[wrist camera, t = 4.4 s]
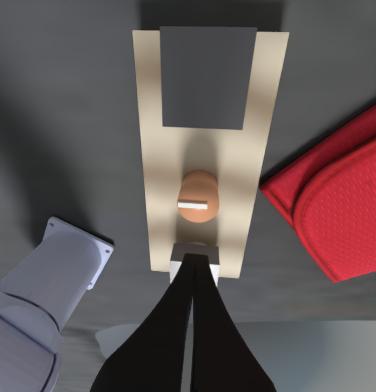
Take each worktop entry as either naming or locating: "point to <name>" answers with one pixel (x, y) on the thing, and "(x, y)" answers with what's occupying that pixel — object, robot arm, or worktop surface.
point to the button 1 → (182, 249)
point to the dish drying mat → (333, 199)
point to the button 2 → (205, 75)
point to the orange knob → (198, 196)
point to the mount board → (204, 156)
